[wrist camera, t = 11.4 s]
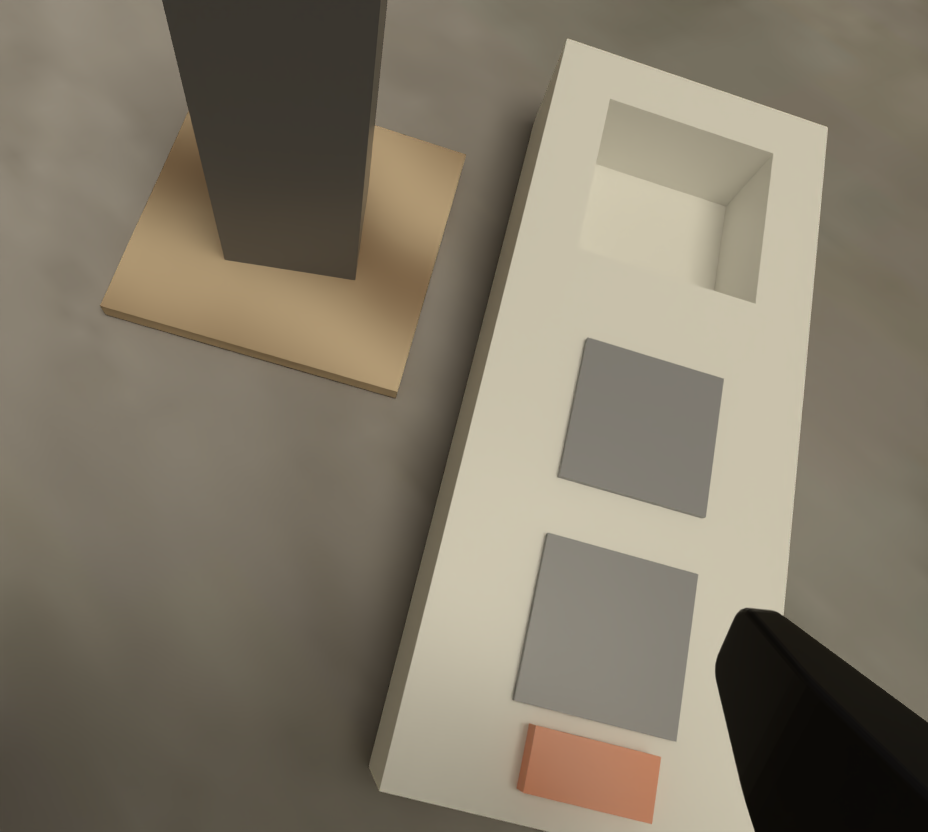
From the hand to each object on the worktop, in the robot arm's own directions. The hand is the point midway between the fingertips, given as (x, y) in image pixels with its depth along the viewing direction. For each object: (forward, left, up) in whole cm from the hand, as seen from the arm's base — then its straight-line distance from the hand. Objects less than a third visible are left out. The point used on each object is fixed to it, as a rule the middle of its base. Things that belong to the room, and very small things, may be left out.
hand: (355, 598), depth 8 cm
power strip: (+10, -3, -14) cm, 17 cm away
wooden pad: (+9, +9, -14) cm, 19 cm away
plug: (+9, +9, -13) cm, 18 cm away
